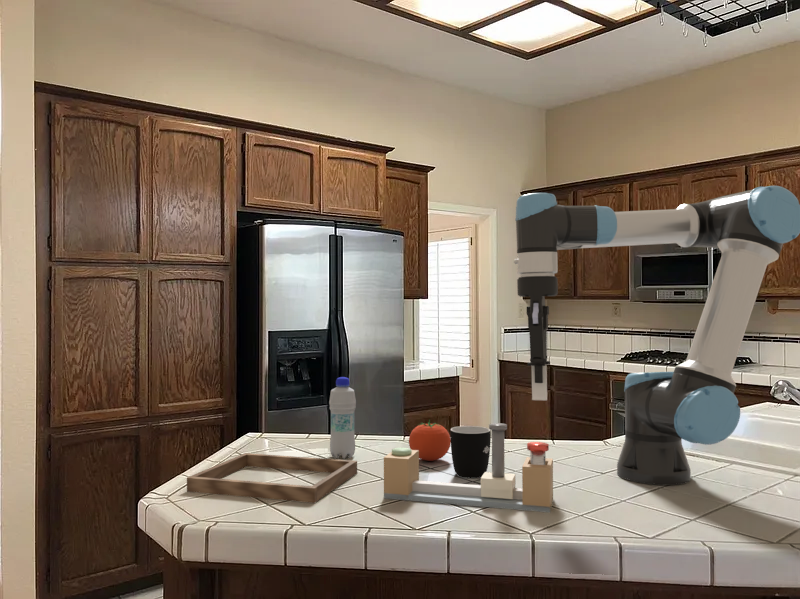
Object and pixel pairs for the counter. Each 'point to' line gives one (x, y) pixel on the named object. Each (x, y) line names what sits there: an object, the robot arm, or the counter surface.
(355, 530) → the counter surface
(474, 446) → the mug
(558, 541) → the counter surface
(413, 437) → the tomato
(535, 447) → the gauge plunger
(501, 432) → the carriage
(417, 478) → the rail
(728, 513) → the counter surface
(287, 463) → the wooden frame
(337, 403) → the bottle
